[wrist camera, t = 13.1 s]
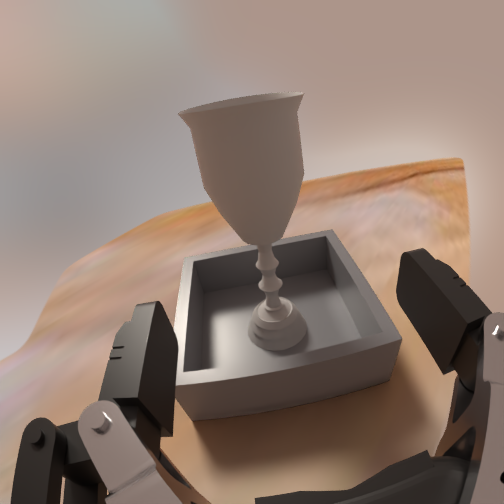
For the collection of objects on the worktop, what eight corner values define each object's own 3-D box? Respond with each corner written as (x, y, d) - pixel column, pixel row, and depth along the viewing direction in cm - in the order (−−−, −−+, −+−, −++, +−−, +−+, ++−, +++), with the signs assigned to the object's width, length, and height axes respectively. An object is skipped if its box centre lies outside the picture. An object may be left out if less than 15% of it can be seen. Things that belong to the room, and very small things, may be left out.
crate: (192, 420, 19) (167, 386, 17) (197, 295, 32) (184, 257, 30) (389, 380, 19) (402, 338, 17) (333, 269, 32) (332, 229, 30)
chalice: (329, 308, 26) (318, 90, 16) (303, 369, 21) (276, 101, 11) (256, 294, 29) (218, 100, 20) (220, 345, 24) (152, 121, 15)
